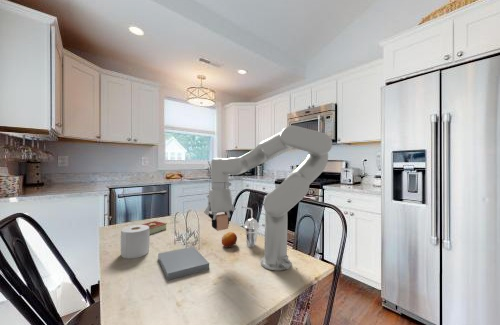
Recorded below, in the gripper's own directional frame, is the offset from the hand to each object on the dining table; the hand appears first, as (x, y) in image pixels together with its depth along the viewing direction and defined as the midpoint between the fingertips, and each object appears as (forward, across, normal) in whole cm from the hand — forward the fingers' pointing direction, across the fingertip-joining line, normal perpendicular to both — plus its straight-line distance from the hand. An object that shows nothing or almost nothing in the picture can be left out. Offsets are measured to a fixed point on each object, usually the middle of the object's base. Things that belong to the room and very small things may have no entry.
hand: (220, 226), depth 97 cm
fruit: (+15, -10, -12) cm, 22 cm away
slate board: (+14, +16, -4) cm, 22 cm away
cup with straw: (+15, -20, -8) cm, 26 cm away
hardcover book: (+14, +23, -57) cm, 63 cm away
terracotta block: (+1, 0, 0) cm, 1 cm away
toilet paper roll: (+14, +32, -26) cm, 44 cm away
